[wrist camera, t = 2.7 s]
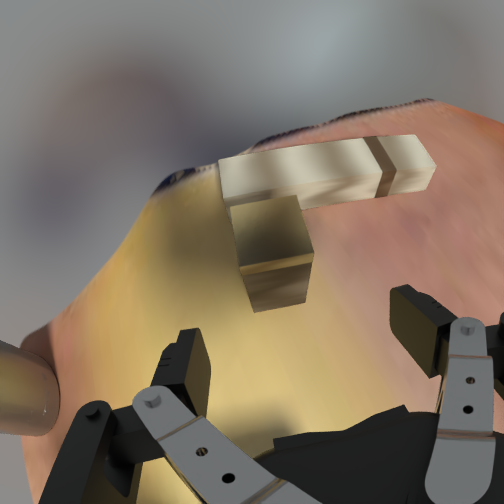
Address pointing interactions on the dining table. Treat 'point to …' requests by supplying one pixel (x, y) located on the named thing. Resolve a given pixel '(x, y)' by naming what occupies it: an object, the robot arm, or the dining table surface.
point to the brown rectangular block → (273, 251)
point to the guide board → (328, 172)
